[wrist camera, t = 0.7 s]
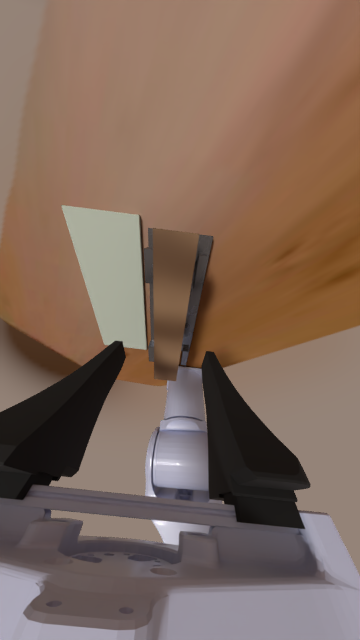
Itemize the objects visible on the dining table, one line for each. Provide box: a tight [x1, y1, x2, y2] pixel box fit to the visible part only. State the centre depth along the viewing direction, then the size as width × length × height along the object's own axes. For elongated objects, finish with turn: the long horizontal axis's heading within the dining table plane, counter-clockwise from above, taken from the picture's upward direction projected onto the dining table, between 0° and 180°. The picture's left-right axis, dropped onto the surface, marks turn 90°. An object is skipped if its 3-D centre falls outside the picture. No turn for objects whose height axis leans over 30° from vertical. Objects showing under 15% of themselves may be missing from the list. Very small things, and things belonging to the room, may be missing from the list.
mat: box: [61, 205, 147, 350], centre depth 19 cm, size 20×8×1 cm, turn 174°
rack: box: [144, 228, 213, 365], centre depth 17 cm, size 18×7×5 cm, turn 174°
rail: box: [153, 228, 199, 381], centre depth 15 cm, size 18×3×3 cm, turn 174°
